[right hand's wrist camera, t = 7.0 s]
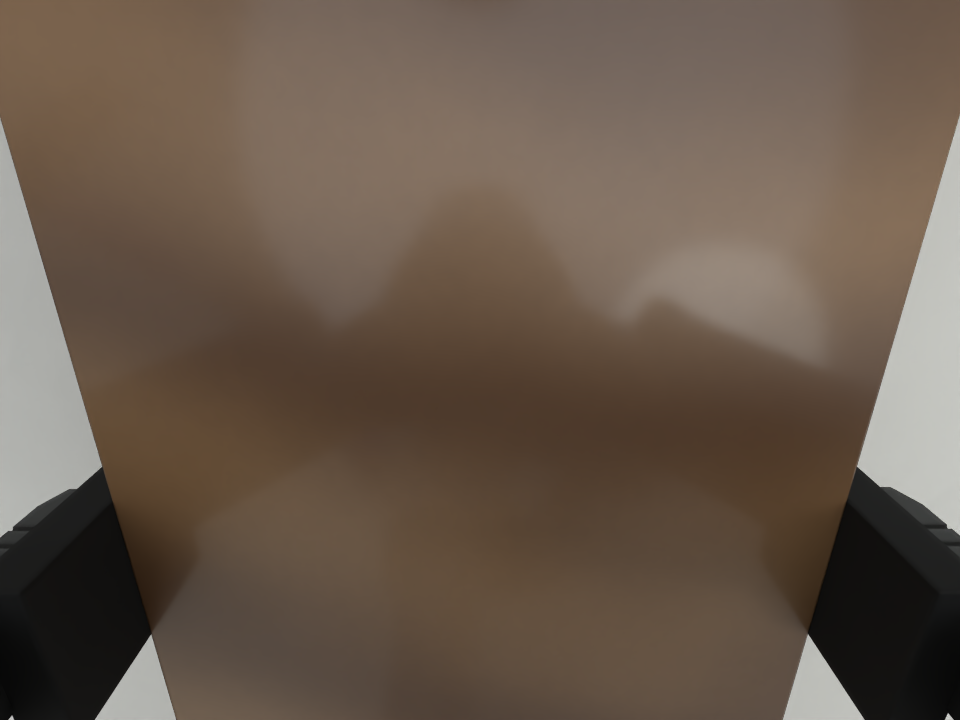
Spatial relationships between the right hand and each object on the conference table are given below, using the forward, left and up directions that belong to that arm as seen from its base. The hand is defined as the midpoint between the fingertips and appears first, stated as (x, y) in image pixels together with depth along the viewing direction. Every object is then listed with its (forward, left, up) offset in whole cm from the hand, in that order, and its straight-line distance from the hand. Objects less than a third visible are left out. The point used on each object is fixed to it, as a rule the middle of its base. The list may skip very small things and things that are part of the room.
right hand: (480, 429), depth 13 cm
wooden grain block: (+2, +3, -4) cm, 6 cm away
